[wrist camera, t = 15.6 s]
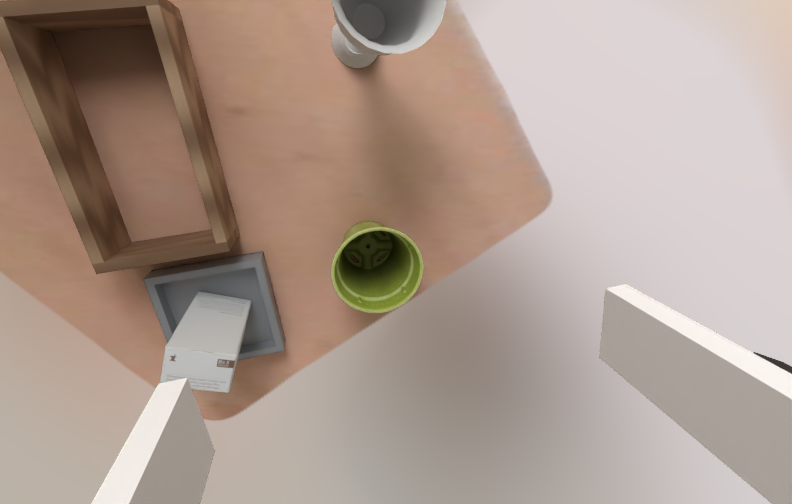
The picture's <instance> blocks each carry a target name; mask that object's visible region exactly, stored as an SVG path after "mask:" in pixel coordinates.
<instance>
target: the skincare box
mask: <svg viewBox="0 0 792 504" xmlns="http://www.w3.org/2000/svg"><path fill="white" fill-rule="evenodd" d="M251 303H252V302H251V300H246V299H240V298H234V297H229V296H223V295H217V294H212V293H206V292H200V291H199V292H197V294H196V296H195V298H194V299H193V301H192V303H191V304H190V306H189V308H188V309H187V311H186V313H185V314H184V316H183V318H182V319H181V321H180V323H179V324H178V326H177V328H176V329H175V331H174V333H173V335H172V337H171V339H170V340H169V342H168V343H167V345H166V346H165V353H164V359H163V366H162V372H161V378H160V383H165V382H169V381H174V380H179V379H183V378H188V380H189V383H190V386H191V388H192V389H194V390H204V391H214V392H224V393H229V391H230V388H231V384H232V380H233V376H234V372H235V368H236V364H237V360H238V356H239V352H240V348H241V344H242V340H243V336H244V332H245V328H246V323H247V319H248V314H249V311H250V307H251ZM160 383H159V384H160Z"/></svg>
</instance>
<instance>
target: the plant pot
mask: <svg viewBox="0 0 792 504" xmlns="http://www.w3.org/2000/svg"><path fill="white" fill-rule="evenodd" d="M380 231H384V233H385V236H383V235H382V234H381V232H380ZM367 244H370V248H367V247H366V245H367ZM384 253H385V256H384V258H383V259H382V260H380V261H377V259H379V258H380V257H381V256H382V255H383V254H384ZM351 254H352V255H353V256H354V257H355V258H356V259H357V260H359V262H355V261H354V260H353V259H352V258H351V257H350V255H351ZM422 276H423V259H422V256H421V253H420V251H419V249H418V247H417V246H416V244H415V243H414V242H413V241H412V240H411V239H410V238H409V237H408V236H407V235H405V234H404V233H402V232H400V231H398V230H395V229H391V228H386V227H384V226H383V225H381V224H379V223H377V222H370V221H368V222H361V223H358V224H356V225H354V226H353V227H351V228H350V229H349V230H348V232H347V233H346V235H345V237H344V239H343V243H342V245H341V246H340V247H339V249H338V250H337V252H336V254H335V256H334V259H333V262H332V267H331V279H332V283H333V286H334V289H335V291H336V293H337V294H338V296H339V297H340V298H341V299H342V300H343V301H344V302H345V303H346V304H348V305H349V306H351V307H352V308H354V309H356V310H359V311H363V312H367V313H383V312H388V311H391V310H394V309H396V308H398V307H400V306H402V305H403V304H405V303H406V302H407V301H408V300H409V299H410V298H411V297H412V296H413V295H414V294H415V292H416V291H417V289H418V287H419V285H420V283H421V280H422Z"/></svg>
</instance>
